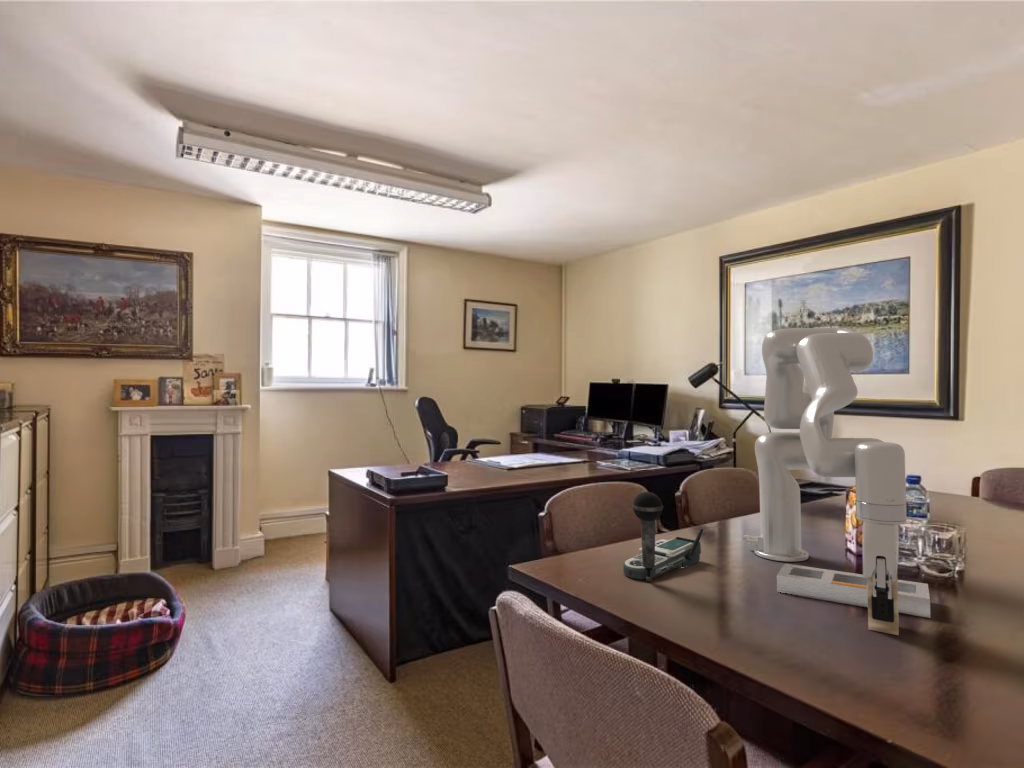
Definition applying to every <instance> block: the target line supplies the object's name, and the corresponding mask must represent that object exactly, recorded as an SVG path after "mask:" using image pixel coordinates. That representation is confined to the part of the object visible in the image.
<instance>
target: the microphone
mask: <svg viewBox="0 0 1024 768" xmlns="http://www.w3.org/2000/svg"><path fill="white" fill-rule="evenodd" d="M631 508H632V510H633V513H634V514H635V517H637V519H639V520H640V535H641V548H642V561H643V567H645V569H646V570H647V577H646V580H645V581H646V582H647V583H651V582H652V581H653V579H652V578H651V576H650V570H652V568H654V567H655V542H656V520H658V519H659V518H660V516H661V515H662V513H663V510H664V505H663V502H662V500H661V498H660V497H659V496H658V495H657V494H656V493H653V492H650V491H644V492H641V493H638V494H637V495H636V496H635V497H634V500H633V502H632V505H631Z"/></svg>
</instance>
